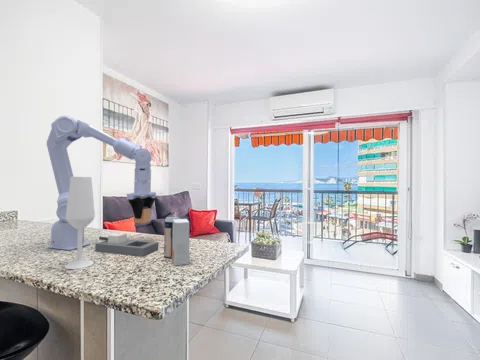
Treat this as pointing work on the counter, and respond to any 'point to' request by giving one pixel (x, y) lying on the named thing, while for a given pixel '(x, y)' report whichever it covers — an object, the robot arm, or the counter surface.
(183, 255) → the skincare box
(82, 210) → the champagne flute
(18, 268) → the counter surface
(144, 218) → the orange plug
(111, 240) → the socket strip
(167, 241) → the beer can
